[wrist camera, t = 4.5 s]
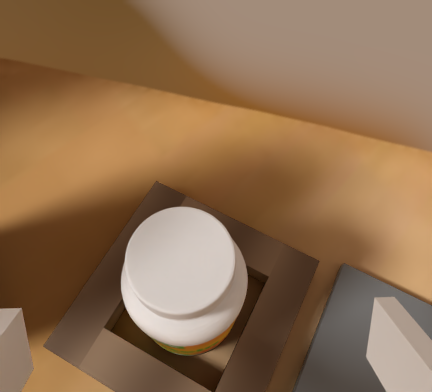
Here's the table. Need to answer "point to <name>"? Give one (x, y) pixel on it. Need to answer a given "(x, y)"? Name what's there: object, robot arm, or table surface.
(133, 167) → the table surface
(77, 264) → the table surface
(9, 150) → the table surface
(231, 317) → the supplement bottle
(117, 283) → the brown flat square frame
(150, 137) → the table surface
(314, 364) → the slate pad
